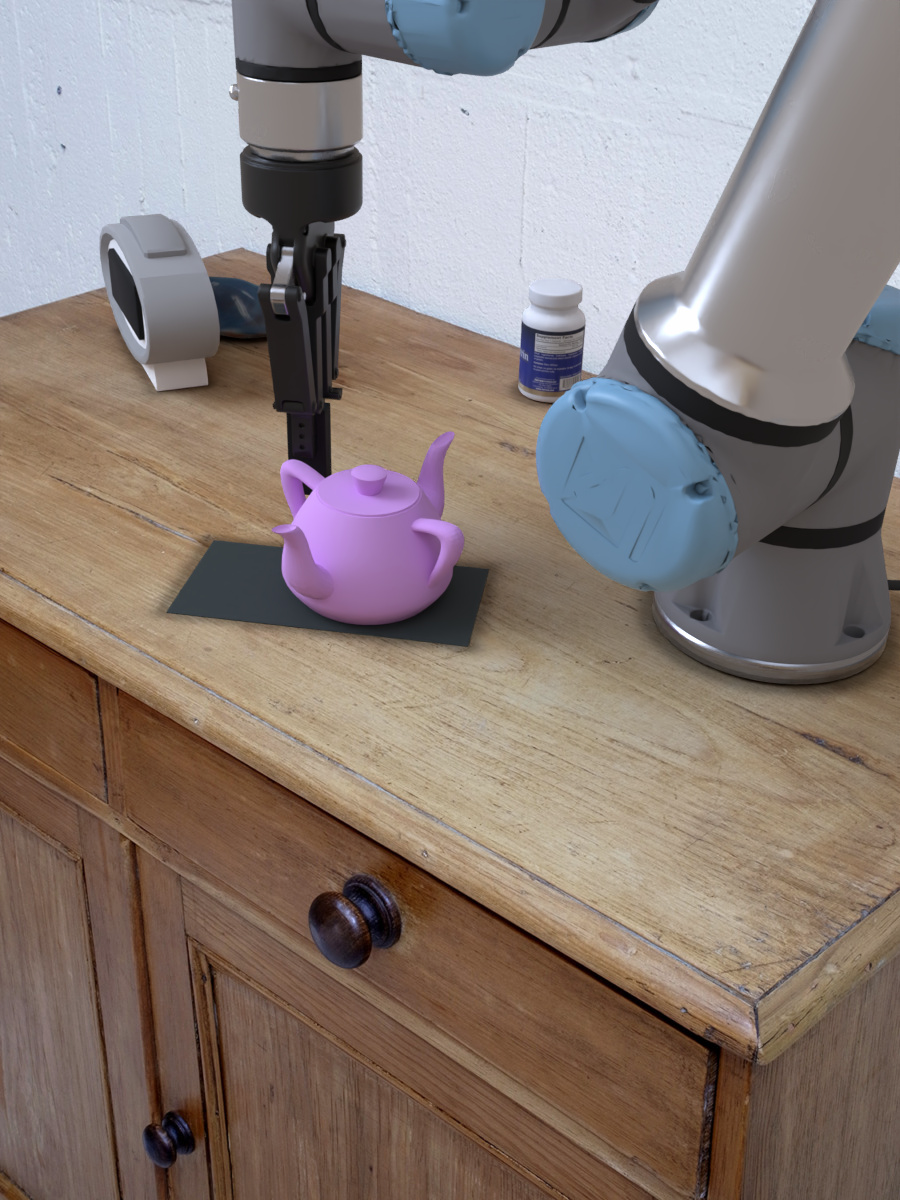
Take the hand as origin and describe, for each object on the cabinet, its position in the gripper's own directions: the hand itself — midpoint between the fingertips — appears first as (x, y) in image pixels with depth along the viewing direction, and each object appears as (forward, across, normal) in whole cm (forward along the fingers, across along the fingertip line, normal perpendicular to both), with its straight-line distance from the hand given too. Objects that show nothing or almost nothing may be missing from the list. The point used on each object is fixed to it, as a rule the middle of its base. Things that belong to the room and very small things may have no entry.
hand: (310, 490), depth 93 cm
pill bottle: (+4, -32, +14) cm, 35 cm away
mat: (+4, +6, +3) cm, 8 cm away
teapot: (+4, +6, +5) cm, 9 cm away
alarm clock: (+4, -32, -23) cm, 39 cm away
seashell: (+4, -40, -18) cm, 44 cm away
